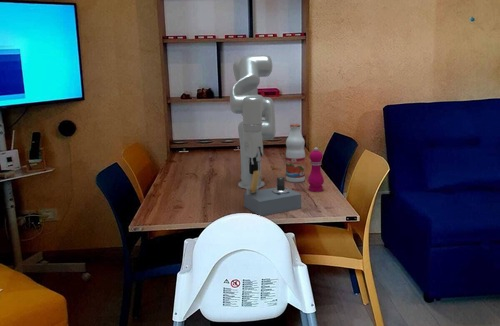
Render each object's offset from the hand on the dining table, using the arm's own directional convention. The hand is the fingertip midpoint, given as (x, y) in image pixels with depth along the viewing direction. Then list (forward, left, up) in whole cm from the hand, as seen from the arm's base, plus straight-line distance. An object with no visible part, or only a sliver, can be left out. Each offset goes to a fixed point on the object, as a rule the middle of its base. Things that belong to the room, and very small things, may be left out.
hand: (253, 173), depth 195 cm
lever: (+1, 0, -4) cm, 4 cm away
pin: (+2, +11, -15) cm, 19 cm away
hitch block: (+2, +7, -15) cm, 17 cm away
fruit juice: (-28, +38, -15) cm, 50 cm away
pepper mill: (-9, +37, -15) cm, 41 cm away
